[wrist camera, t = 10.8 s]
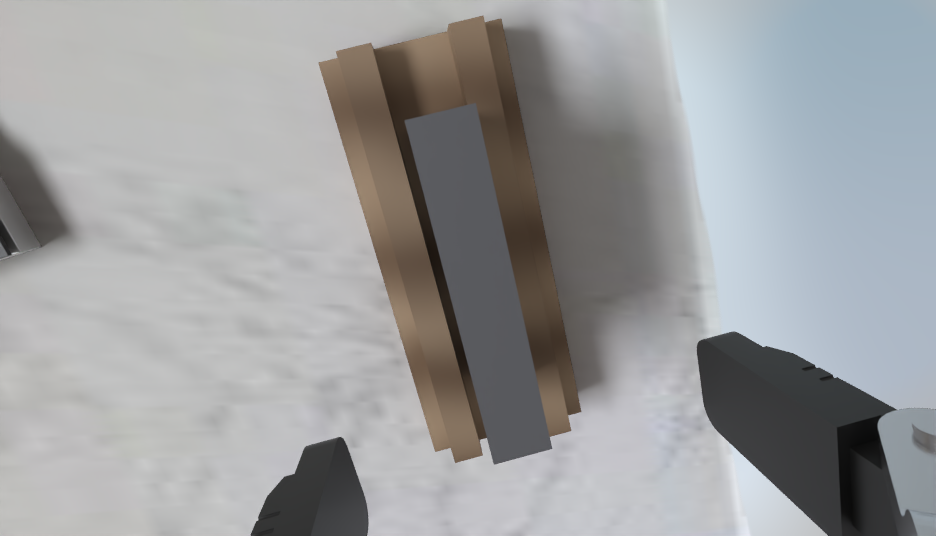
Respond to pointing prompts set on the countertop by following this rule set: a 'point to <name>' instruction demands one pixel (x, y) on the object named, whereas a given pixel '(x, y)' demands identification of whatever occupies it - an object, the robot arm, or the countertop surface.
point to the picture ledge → (409, 226)
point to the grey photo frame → (480, 278)
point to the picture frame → (13, 227)
